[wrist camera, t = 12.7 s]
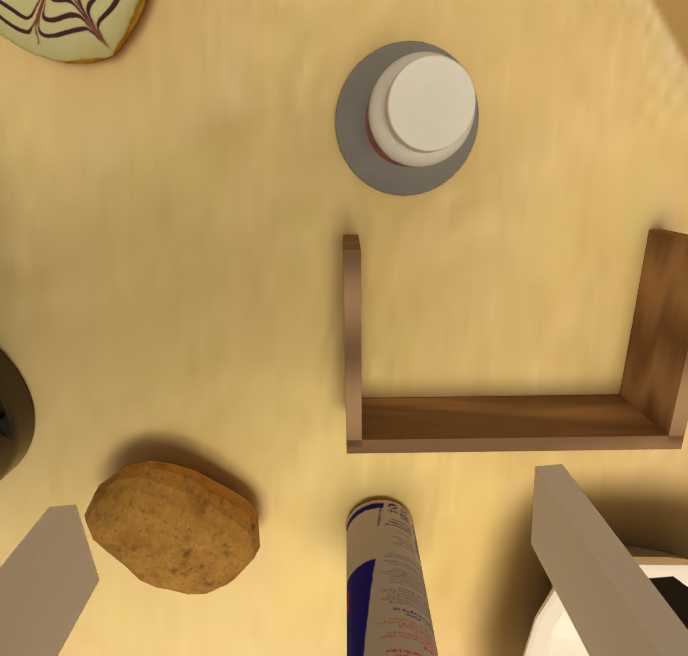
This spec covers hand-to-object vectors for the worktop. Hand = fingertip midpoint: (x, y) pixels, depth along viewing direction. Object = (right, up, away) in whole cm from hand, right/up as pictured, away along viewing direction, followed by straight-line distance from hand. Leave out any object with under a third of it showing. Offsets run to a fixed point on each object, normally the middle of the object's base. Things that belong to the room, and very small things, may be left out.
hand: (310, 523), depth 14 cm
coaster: (+5, +19, +17) cm, 26 cm away
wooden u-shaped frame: (+12, +6, +22) cm, 26 cm away
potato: (-12, -8, +27) cm, 31 cm away
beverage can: (+4, -11, +28) cm, 30 cm away
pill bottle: (+5, +19, +17) cm, 26 cm away
